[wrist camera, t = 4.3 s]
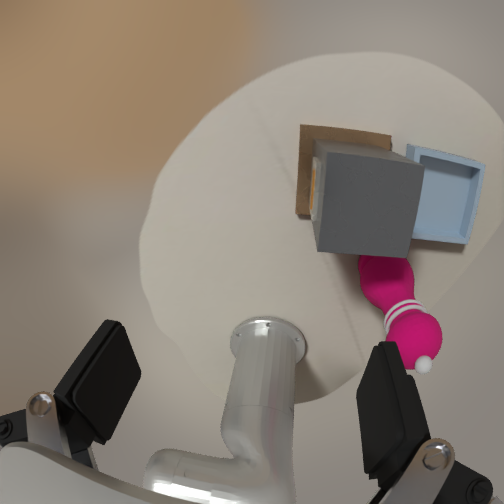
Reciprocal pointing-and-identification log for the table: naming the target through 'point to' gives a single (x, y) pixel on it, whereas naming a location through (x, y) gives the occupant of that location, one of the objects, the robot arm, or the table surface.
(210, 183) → the table surface
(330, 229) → the control unit
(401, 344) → the pepper mill
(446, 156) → the parts tray
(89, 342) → the robot arm
